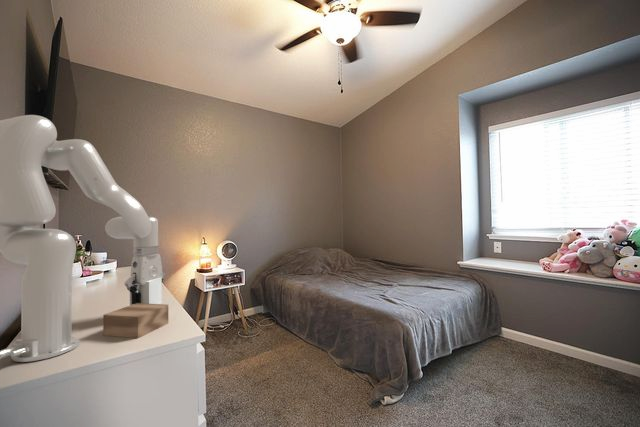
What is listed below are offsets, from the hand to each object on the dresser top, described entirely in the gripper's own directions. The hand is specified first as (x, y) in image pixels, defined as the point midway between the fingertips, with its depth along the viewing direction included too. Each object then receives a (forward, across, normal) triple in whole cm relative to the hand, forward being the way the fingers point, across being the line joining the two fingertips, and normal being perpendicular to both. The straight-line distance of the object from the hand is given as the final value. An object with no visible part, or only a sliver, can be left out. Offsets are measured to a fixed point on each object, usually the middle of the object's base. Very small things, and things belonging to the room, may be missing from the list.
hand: (146, 300), depth 102 cm
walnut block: (+5, -12, -8) cm, 15 cm away
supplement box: (+5, 0, 0) cm, 5 cm away
